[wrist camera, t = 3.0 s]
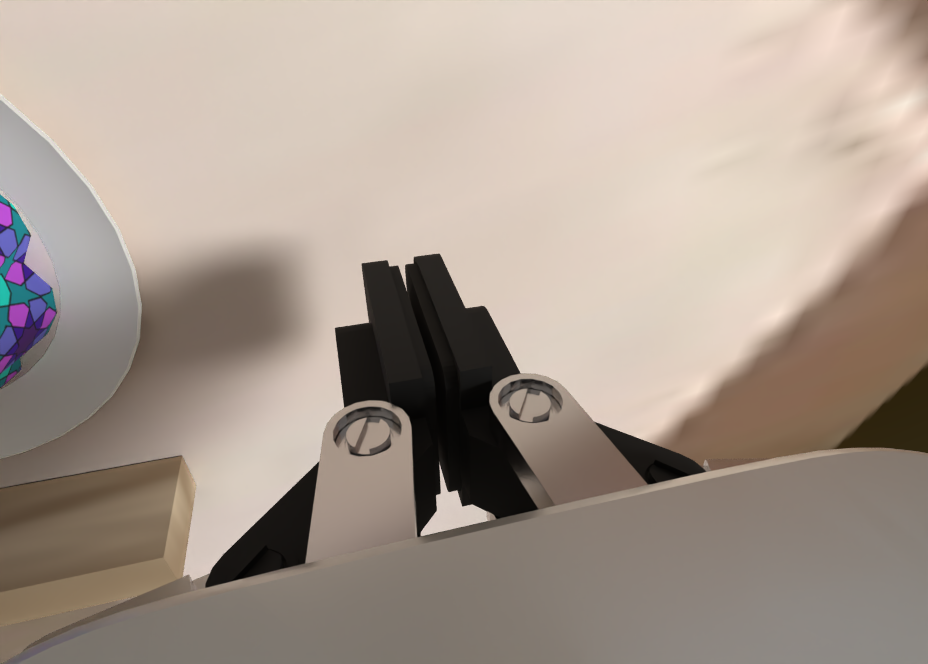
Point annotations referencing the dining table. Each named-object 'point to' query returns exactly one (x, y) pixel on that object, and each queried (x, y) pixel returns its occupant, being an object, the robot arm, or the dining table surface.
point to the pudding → (81, 291)
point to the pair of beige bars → (92, 538)
